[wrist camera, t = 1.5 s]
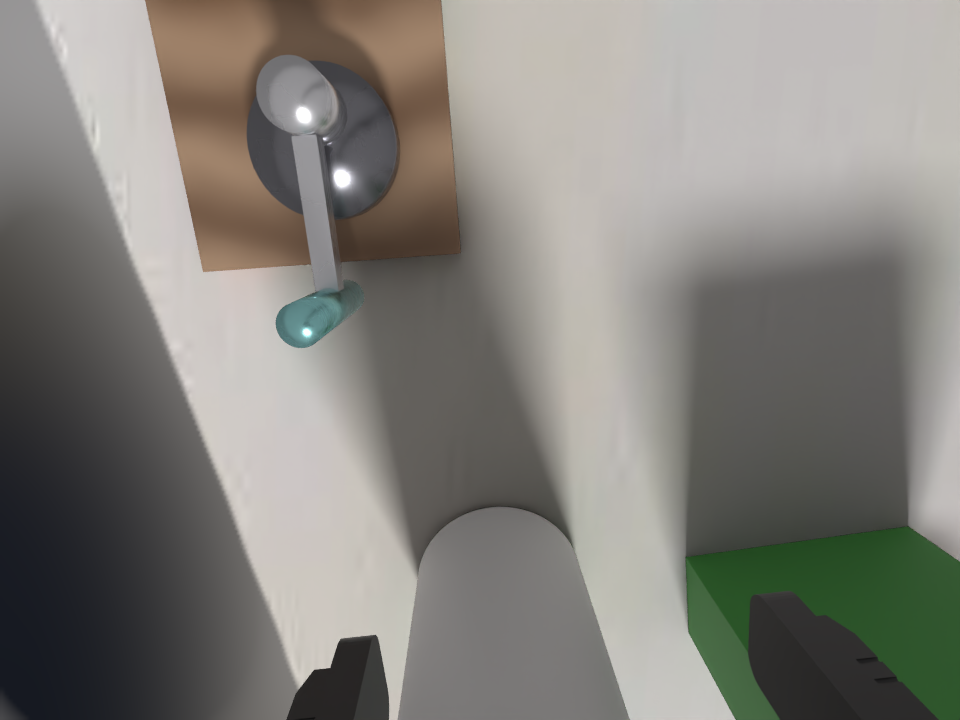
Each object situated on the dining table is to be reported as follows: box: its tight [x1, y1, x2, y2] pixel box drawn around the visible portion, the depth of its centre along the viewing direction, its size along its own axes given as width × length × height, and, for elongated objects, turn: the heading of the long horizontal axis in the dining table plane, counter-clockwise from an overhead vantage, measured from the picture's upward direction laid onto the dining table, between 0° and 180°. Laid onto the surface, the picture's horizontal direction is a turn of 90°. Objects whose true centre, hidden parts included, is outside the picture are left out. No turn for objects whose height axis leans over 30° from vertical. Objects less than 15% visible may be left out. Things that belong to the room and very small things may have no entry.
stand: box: [145, 0, 461, 272], centre depth 27 cm, size 18×16×8 cm
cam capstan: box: [247, 55, 400, 348], centre depth 25 cm, size 14×8×10 cm, turn 4°
